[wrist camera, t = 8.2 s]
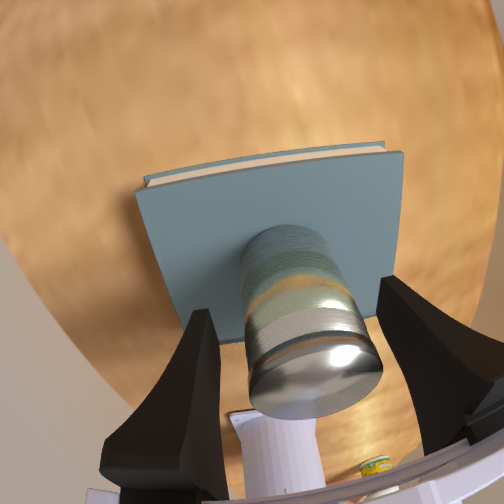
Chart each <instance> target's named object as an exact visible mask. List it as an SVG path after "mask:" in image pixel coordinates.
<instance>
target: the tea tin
mask: <svg viewBox="0 0 504 504" xmlns="http://www.w3.org/2000/svg"><path fill="white" fill-rule="evenodd" d="M239 270H240V282H241V302H242V314H243V326H244V337H245V349H246V358H247V362H248V372H249V374H248V388H249V398H250V402H251V405H252V406H253V407H254V408H255V409H256V410H257V411H258V412H260V413H262V414H263V415H265V416H268V417H271V418H275V419H280V420H308V419H315V418H319V417H324V416H327V415H331V414H334V413H336V412H339V411H341V410H344V409H346V408H348V407H350V406H352V405H354V404H355V403H357V402H359V401H360V400H362V399H363V398H364V397H366V396H367V395H368V394H369V393H370V392H371V391H372V390H373V389H374V388H375V387H376V386H377V384H378V382H379V381H380V379H381V377H382V374H383V364H382V361H381V359H380V357H379V354H378V352H377V349H376V347H375V345H374V344H373V342H372V341H371V339H370V336H369V334H368V332H367V328H366V325H365V323H364V320H363V318H362V316H361V313H360V311H359V309H358V307H357V304H356V302H355V300H354V298H353V296H352V293H351V291H350V289H349V287H348V285H347V283H346V280H345V278H344V276H343V274H342V272H341V270H340V268H339V266H338V265H337V263H336V261H335V259H334V256H333V254H332V252H331V250H330V248H329V246H328V244H327V242H326V241H325V239H324V238H323V237H322V236H321V235H320V234H318V233H317V232H315V231H314V230H312V229H309V228H307V227H303V226H298V225H284V226H278V227H274V228H271V229H269V230H267V231H264V232H263V233H261V234H259V235H258V236H256V237H255V238H254V239H253V240H252V241H251V242H250V243H249V244H248V245H247V247H246V248H245V250H244V251H243V253H242V256H241V259H240V265H239Z"/></svg>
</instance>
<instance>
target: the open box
mask: <svg viewBox="0 0 504 504" xmlns="http://www.w3.org/2000/svg"><path fill="white" fill-rule="evenodd" d="M359 478H362V475H359V476H355V477H351V478H347V479H343V480H339V481H335V482H331V483H326V487H327V486H332V485H336V484H340V483H344V482H348V481H352V480H356V479H359ZM366 497H367V495H366V496H363V497H359V498H356V499H352V500H348V501H344V502H346V503H347V504H355V503H359V502H362V501H363V500H364V499H365V498H366Z"/></svg>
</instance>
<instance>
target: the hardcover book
mask: <svg viewBox="0 0 504 504" xmlns="http://www.w3.org/2000/svg"><path fill="white" fill-rule="evenodd" d="M403 165H404V153H403V152H401V151H387V150H386V149H385V141H382V142H367V143H354V144H343V145H332V146H323V147H313V148H305V149H296V150H288V151H281V152H274V153H267V154H260V155H253V156H247V157H241V158H234V159H229V160H223V161H217V162H212V163H206V164H201V165H196V166H191V167H186V168H181V169H176V170H171V171H166V172H162V173H157V174H153V175H148V176H145V177H144V178H145V181H146V185H147V187H145V188H140V189H137V190H136V191H135V196H136V199H137V203H138V206H139V209H140V212H141V215H142V218H143V221H144V225H145V228H146V231H147V234H148V237H149V239H150V242H151V245H152V248H153V251H154V254H155V257H156V260H157V262H158V265H159V268H160V271H161V273H162V276H163V279H164V281H165V284H166V287H167V289H168V292H169V295H170V297H171V300H172V302H173V305H174V308H175V310H176V313H177V315H178V318H179V320H180V323H181V325H182V327H183V330H184V331H185V329H186V326H187V324H188V321H189V319H190V316H191V314H192V312H193V311H194V310H199V309H206V308H209V312H210V315H211V318H212V321H213V324H214V327H215V330H216V333H217V337H218V340H219V345H223V344H230V343H237V342H244V341H245V337H244V326H243V314H242V302H241V282H240V270H239V265H240V259H241V256H242V253H243V251H244V250H245V248H246V247H247V245H248V244H249V243H250V242H251V241H252V240H253V239H254V238H255V237H256V236H258V235H259V234H261V233H263V232H264V231H267V230H269V229H271V228H274V227H278V226H284V225H298V226H303V227H307V228H309V229H312V230H314V231H315V232H317V233H318V234H320V235H321V236H322V237H323V238H324V239H325V241H326V242H327V244H328V246H329V248H330V250H331V252H332V254H333V256H334V259H335V261H336V263H337V265H338V266H339V268H340V270H341V272H342V274H343V276H344V278H345V280H346V283H347V285H348V287H349V289H350V291H351V293H352V296H353V298H354V300H355V302H356V304H357V307H358V309H359V311H360V313H361V316H362V318H363V319H365V318H369V317H373V316H377V315H376V307H377V301H378V294H379V287H380V280H381V278H382V277H387V276H391V275H393V270H394V263H395V255H396V248H397V240H398V231H399V221H400V211H401V198H402V184H403Z"/></svg>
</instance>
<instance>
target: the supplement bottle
mask: <svg viewBox="0 0 504 504" xmlns="http://www.w3.org/2000/svg"><path fill="white" fill-rule="evenodd" d="M389 469H392V465H391V462H390V459H389V457H388V456H387V455H382V456H378V457H374V458H372V459H369V460H367V461H365V462H363V463H362V464H361V465H360V471H361V475H362V478H363V477H366V476H370V475H373V474H377V473H380V472H383V471H386V470H389ZM398 490H399V487H398V485H397V486H394V487H392V488H389V489H386V490H382V491H379V492H376V493H373V494H370V495H367V497H368V500H369V499H372V498H376V497H379V496H382V495H385V494H388V493H392V492H395V491H398Z"/></svg>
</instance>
